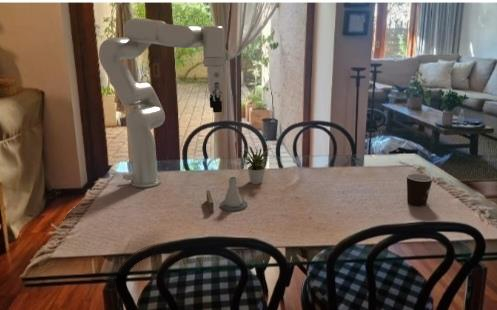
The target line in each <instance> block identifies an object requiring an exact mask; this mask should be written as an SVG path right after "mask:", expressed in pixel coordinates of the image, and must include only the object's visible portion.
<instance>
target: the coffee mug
mask: <svg viewBox="0 0 497 310" xmlns="http://www.w3.org/2000/svg"><path fill="white" fill-rule="evenodd" d="M432 183H433V177H432V176H430V175H429V174H423V173H414V172H413V173H409V174H407V175H406V197H407V198H406V199H407V200H406V201H407V204H408V205H410V206H413V207H420V208H422V207H425V206H427V204H428V203H427V202H428V198H429V195H430V191H431V186H432Z"/></svg>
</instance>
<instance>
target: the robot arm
mask: <svg viewBox="0 0 497 310" xmlns="http://www.w3.org/2000/svg"><path fill="white" fill-rule="evenodd" d="M123 33H124V35H125V37H122V36H121V37H110V38H108V39H105V40H104V41H102V42H101V44H100V46H99V49H98V59H99V62H100V65H101V67H102V69H103V70H104V72H105V73H106V74H107V76H108V78H109V81H110V83H111V85H112V86H113V89H114V92H115V94H116V95H117V97H118V100H119V101H120V103H121V104H122V105H123V107H126V108H133V107H137V106H140V107H138V108H135V109H133V110H130V112H129V113H128V114H127V116H126V121H125V122H126V126H127V129H128V133H129V138H130V145H131V146H130V147H131V155H132V166H133V167H132V168H133V172H132V173H130V174H129V173H127V174H122V177H123V178H122V179H123V180H125V181H130V184H131V186H132V187H135V188H151V187H155V186H158V185H160V184H161V183H162V177H160V176H159V175H158V166H157V153H156V152H157V149H156V141H155V137H154V135H153V133H152V130H153V129H155V128H158V127H160V126H162V125H163V124H164V123H165V120H166V114H165V111H164V107H163V106H162V103H161V102H160V100H159V97H158V95H157V93H156V91H155V89H154V87H153V86H152V85H151V84H150V83H149V82H146V81H145V80H140V81H136V79H134V77H133V75H132V72H131V71H130V70H129V68H128V67H127V65H125V64H124V63H123V62H122V60H130V59H131V60H133V59H137V58H138V57H140V56H141V55H142V54H143V53H144V52H145V51H146V50H147V49H148V48H149V47H150V46H152V44H153V45H160V46H165V47H171V48H179V49H191V48H202V52H203V53H202V54H203V68H204V67H205V68H207V69H206V70H207V71H206V73H207V74H206V76H207V88H208V93H209V107H210V109H212V112H213V113H222V112H223V101H222V96H224V95H225V82H224V81H225V80H224V71H223V70H224V68H223V67H225V66H226V61H225V60H226V59H225V55H226V54H225V49H226V48H225V29H224V27H223V26H221V25H205V26H203V25H189V24H188V25H185V24H184V25H181V24H171V23H167V22H165V21H163V20H155V19H150V18H131V19H129V20H127V21H126V22H125V24H124V26H123Z"/></svg>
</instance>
